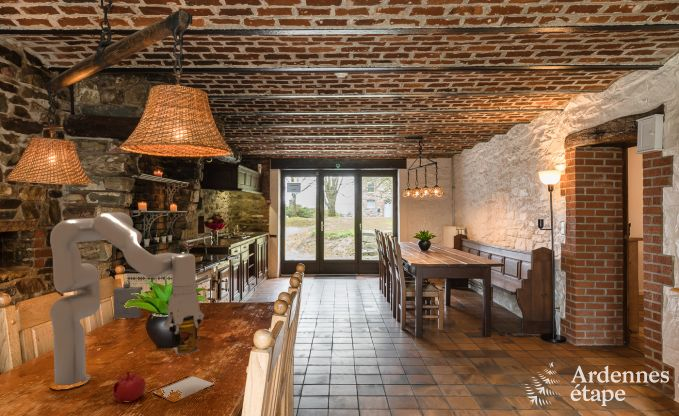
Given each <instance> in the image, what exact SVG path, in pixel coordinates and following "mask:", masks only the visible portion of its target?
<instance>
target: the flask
mask: <svg viewBox="0 0 679 416" xmlns="http://www.w3.org/2000/svg"><path fill="white" fill-rule="evenodd" d="M131 293H139V294H141V295H142V287H141V286H131V283H129V282H127V283H123V286H121V287H120V286H119V287H115V288H113V320H118V319H117V318H138V317H141V318H142V307H141V308H137V307H131V308H125V307H124V305H125V303H126V302H127V301H128V300H130V299H139V298H138V297H137V296H135V295H131ZM138 319H139V318H138Z"/></svg>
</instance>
